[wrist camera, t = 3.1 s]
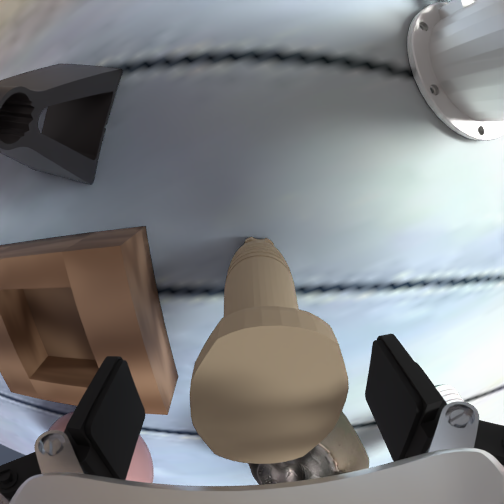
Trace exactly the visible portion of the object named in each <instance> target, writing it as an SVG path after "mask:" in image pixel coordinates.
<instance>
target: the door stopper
mask: <svg viewBox="0 0 504 504" xmlns="http://www.w3.org/2000/svg"><path fill="white" fill-rule="evenodd" d="M122 73H123V70H122V69H119V68H110V67H101V66H90V65H76V64H57V65H52V66H48V67H44V68H41V69H37V70H33V71H30V72H26V73H23V74H19V75H16V76H13V77H10V78H7V79H4V80H1V81H0V153H2V154H4V155H6V156H8V157H10V158H12V159H14V160H16V161H18V162H20V163H22V164H24V165H26V166H28V167H29V168H31V169H33V170H37V171H41V172H45V173H48V174H52V175H56V176H60V177H64V178H68V179H72V180H75V181H79V182H83V183H87V184H92V183H93V182H94V178H95V173H96V168H97V163H98V159H99V154H100V150H101V146H102V141H103V137H104V133H105V130H106V129H105V126H106V124H107V122H108V118H109V115H110V111H111V108H112V104H113V101H114V98H115V95H116V91H117V88H118V85H119V82H120V79H121V76H122ZM46 107H48V109H47V113H46V117H45V121H44V125H43V129H42V133H40V131H39V129H38V120H39V116H40V114H41V112H42V111H43V110H44V109H45V108H46Z"/></svg>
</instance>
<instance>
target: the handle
mask: <svg viewBox="0 0 504 504" xmlns="http://www.w3.org/2000/svg"><path fill="white" fill-rule="evenodd" d="M348 389H349V388H348V376H347V372H346V368H345V364H344V361H343V357H342V354H341V351H340V347H339V344H338V342H337V339H336V337H335V335H334V333H333V331H332V328H331V327H330V325H328V324H327V323H326V322H324V321H323V320H322V319H320V318H319V317H317V316H315V315H313V314H311V313H309V312H306V311H302V310H299V309H298V304H297V298H296V292H295V286H294V282H293V278H292V275H291V272H290V269H289V267H288V265H287V263H286V261H285V259H284V257H283V256H282V254H281V253H280V252H279V250H278V249H277V248H275V247H274V244H273V242H272V241H271V240H269V239H268V238H265V239H255V238H253V237H249V238H247V239H246V240H245V243H244V245H243V246H241V247H240V248H239V249H238V251H236V253H235V254H234V256H233V258H232V260H231V263H230V266H229V269H228V273H227V277H226V282H225V291H224V318H222V319H221V320H220V322H219V323H218V325H217V326H216V327H215V329H214V330H213V332H212V333H211V335H210V336H209V338H208V340H207V341H206V343H205V345H204V347H203V348H202V350H201V352H200V354H199V356H198V358H197V360H196V362H195V365H194V370H193V374H192V379H191V387H190V408H191V418H192V423H193V426H194V428H195V429H196V431H197V433H198V434H199V436H200V437H201V438H202V439H203V441H204V442H205V443H206V444H207V446H208V447H209V448H210V449H211V450H212V451H213V452H214V454H216V455H218V456H221V457H223V458H226V459H229V460H232V461H237V462H243V463H254V464H271V463H280V462H286V461H290V460H294V459H297V458H300V457H303V456H304V455H306V454H307V453H308V452H309V451H310V450H312V449H313V448H314V447H315V446H317V445H318V444H319V443H320V442H321V441H322V440H323V439H324V438H326V437H327V435H328V434H329V433H330V432H331V431H332V430H333V429H334V427H335V425H336V423H337V421H338V419H339V417H340V414H341V412H342V409H343V406H344V404H345V401H346V398H347V393H348Z"/></svg>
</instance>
